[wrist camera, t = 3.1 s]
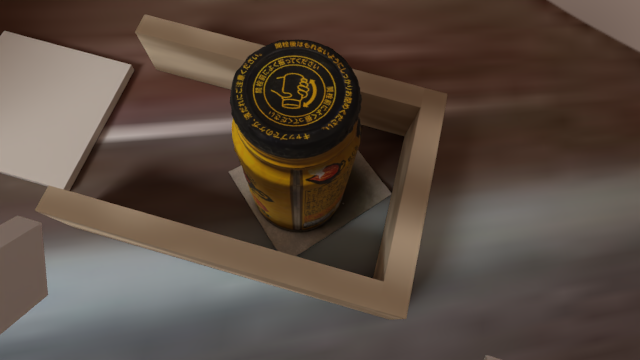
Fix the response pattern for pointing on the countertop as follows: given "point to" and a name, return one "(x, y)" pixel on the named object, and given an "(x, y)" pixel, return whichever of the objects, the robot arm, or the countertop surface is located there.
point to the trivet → (53, 107)
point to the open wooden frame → (263, 263)
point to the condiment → (300, 143)
